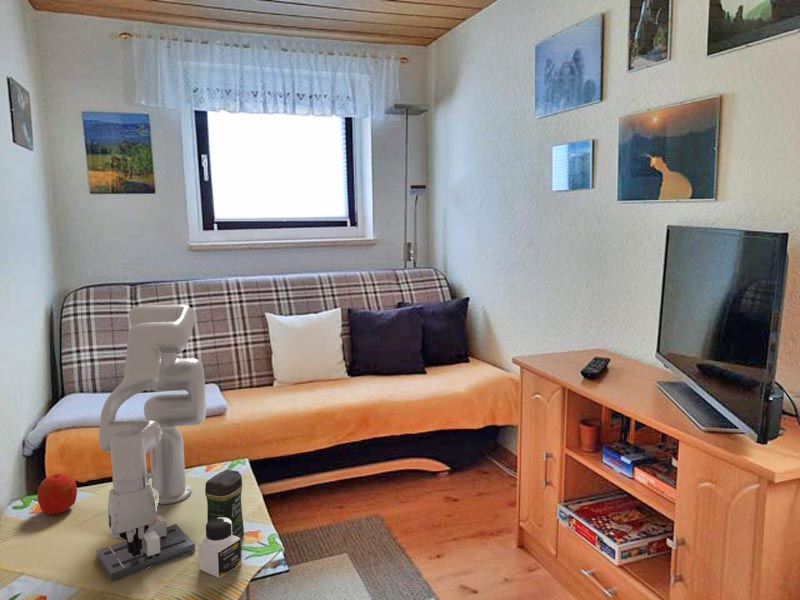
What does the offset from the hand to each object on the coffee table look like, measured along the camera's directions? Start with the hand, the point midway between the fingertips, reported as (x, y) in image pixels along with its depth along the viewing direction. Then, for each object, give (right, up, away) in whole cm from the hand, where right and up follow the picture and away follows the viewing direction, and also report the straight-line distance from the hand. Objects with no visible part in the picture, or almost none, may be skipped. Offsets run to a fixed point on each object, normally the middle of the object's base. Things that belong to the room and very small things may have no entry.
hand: (135, 553), depth 146 cm
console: (0, -3, +5) cm, 6 cm away
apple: (-34, 0, +27) cm, 44 cm away
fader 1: (+1, +1, +10) cm, 11 cm away
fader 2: (+3, -1, +3) cm, 4 cm away
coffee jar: (+19, -2, +11) cm, 22 cm away
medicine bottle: (+21, -4, 0) cm, 21 cm away
